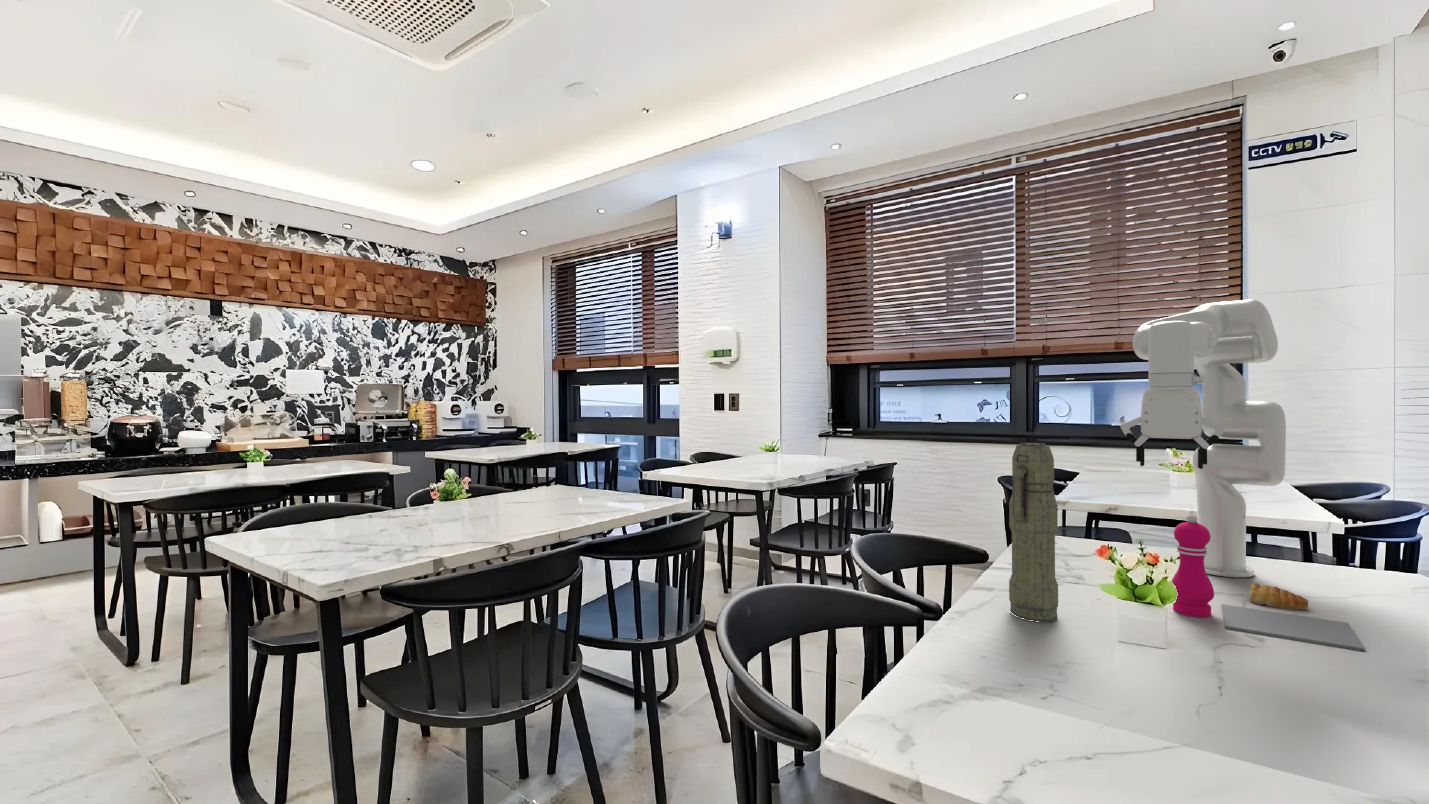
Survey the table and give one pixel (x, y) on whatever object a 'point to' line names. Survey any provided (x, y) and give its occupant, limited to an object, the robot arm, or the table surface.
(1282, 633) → the mat
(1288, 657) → the table surface
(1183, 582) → the pepper mill
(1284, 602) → the pastry
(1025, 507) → the thermos
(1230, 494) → the robot arm
